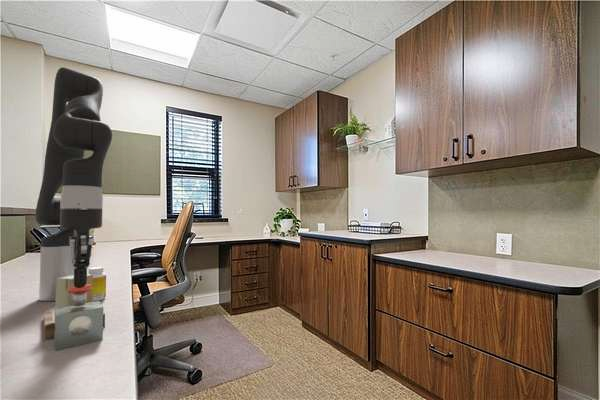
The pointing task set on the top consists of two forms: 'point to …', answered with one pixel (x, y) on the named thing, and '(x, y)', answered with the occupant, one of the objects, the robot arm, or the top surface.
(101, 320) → the cabinet
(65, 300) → the skincare box
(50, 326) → the rail
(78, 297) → the button
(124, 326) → the top surface
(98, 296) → the supplement bottle
